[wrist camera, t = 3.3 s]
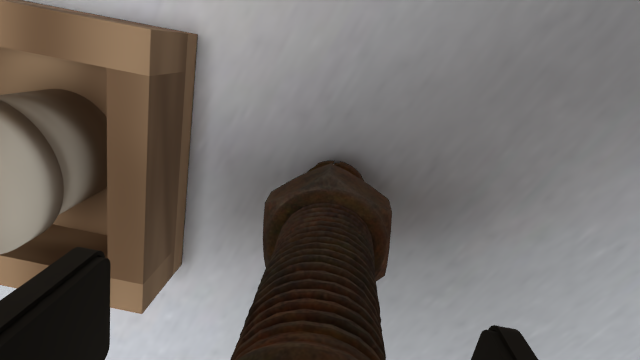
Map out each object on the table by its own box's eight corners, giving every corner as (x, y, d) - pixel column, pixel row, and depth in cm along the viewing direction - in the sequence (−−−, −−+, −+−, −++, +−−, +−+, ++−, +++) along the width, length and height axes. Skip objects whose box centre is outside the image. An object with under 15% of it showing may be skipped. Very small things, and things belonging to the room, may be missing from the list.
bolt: (414, 180, 18) (684, 725, 3) (353, 259, 19) (362, 857, 5) (308, 111, 17) (88, 429, 3) (254, 199, 18) (-65, 687, 4)
